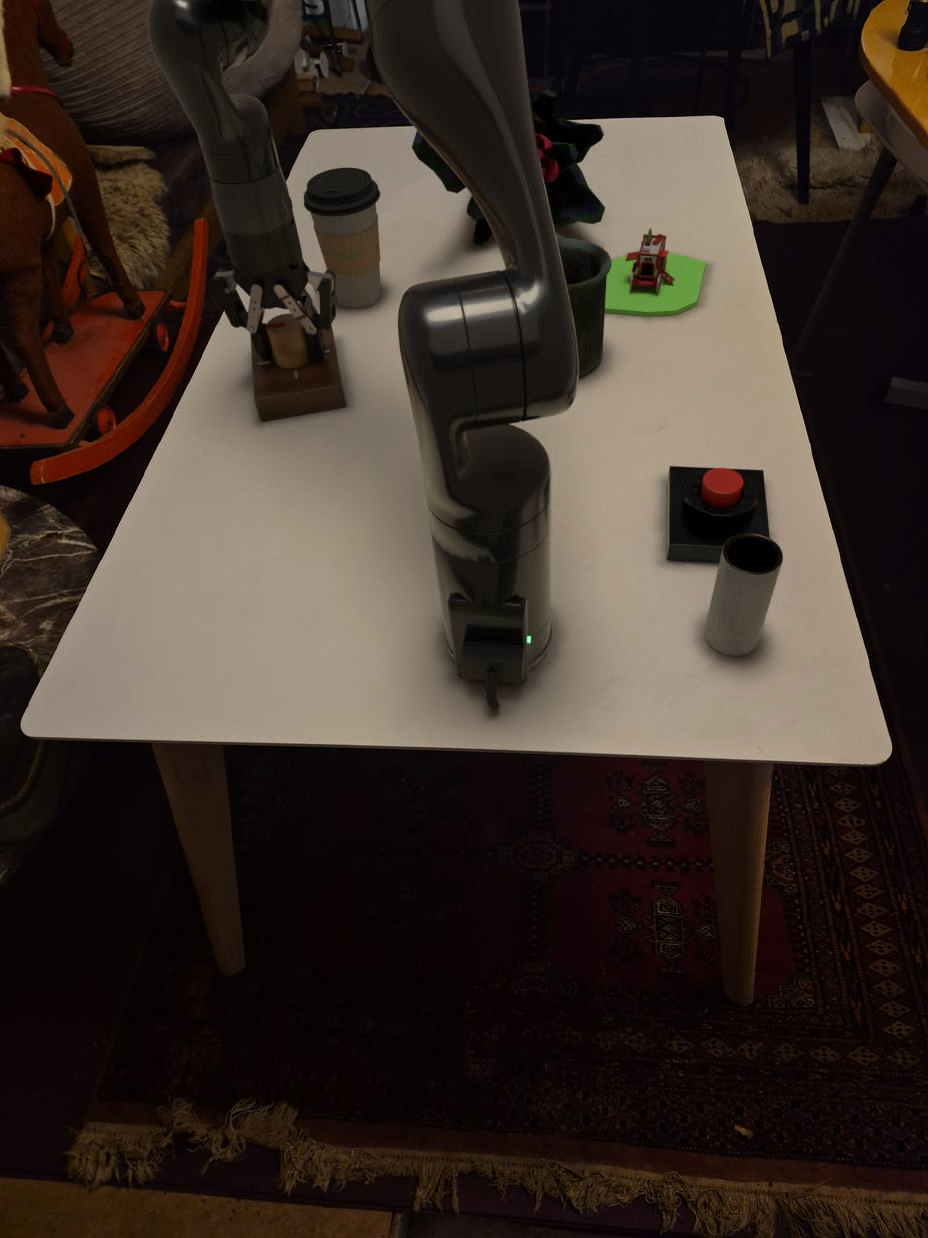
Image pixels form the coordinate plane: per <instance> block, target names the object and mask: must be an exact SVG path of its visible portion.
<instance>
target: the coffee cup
mask: <svg viewBox="0 0 928 1238" xmlns="http://www.w3.org/2000/svg"><path fill="white" fill-rule="evenodd" d="M380 197H381V190H380V189H379V185H378V183H377V182H376V181H375V180H374V179H373V178H372V175H371V174H370V173H369V172H368V171H367V170H364V169H362V168H359V167H337V168H331V169H327V170H324V171H322V172H319V173H317V174H316V175H314V176H312V177H310V179H309V180H308V181H307V183H306V190H305V191H304V193H303V206H304V209H305V210H306V211H308V212H310V216H311V219H312V222H313V229H314V233H315V236H316V239H317V242H318V246H319V249H320V251H321V255H322V258H323V262H324V265H325V267H326V270H332V271H334V273H335V275H336V300H337V301H338V303H339V305H340V306H343V307H344V308H346V309H347V308H348V309H363V308H369V307H370V306H373V305H374V304H376V303H378V301H379V300H380V298H381V296H382V291H381V289H382V287H381V269H380V263H381V248H380V246H381V245H380V233H379V229H380V228H379V215H378V213H377V203H378V201H379V199H380Z"/></svg>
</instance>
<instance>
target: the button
mask: <svg viewBox="0 0 928 1238" xmlns="http://www.w3.org/2000/svg"><path fill="white" fill-rule="evenodd" d="M714 468H715V469H712V470H709V471H708V472H707V473H706V474H705V475H704V477H703V481H702V487H701V497H702V499H703V500H704V501H705V502H706V503H708V504H711V505H713V506H715V507H729V506H732V505H734V504H736V503H737V502H738V501H739V499H740V495H741V491H742V487H743V479H742V477H741V475H740V474H739V473H737V472H736V471H734V470H731V469H732V468H727V467H714Z"/></svg>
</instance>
